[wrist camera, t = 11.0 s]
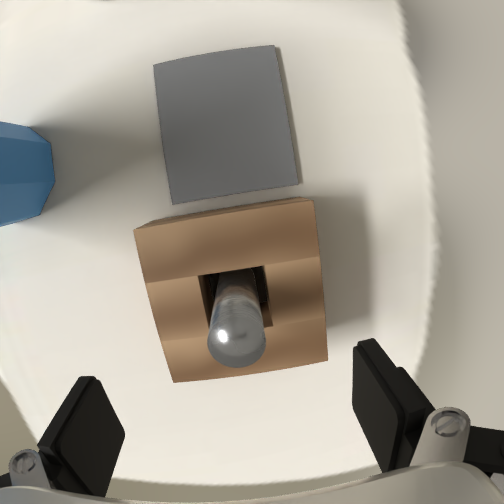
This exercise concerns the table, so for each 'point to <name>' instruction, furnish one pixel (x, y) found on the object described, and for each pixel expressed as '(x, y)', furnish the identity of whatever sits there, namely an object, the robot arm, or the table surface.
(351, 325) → the table surface
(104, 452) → the robot arm
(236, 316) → the peg
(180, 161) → the mat
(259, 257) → the socket block
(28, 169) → the water bottle
